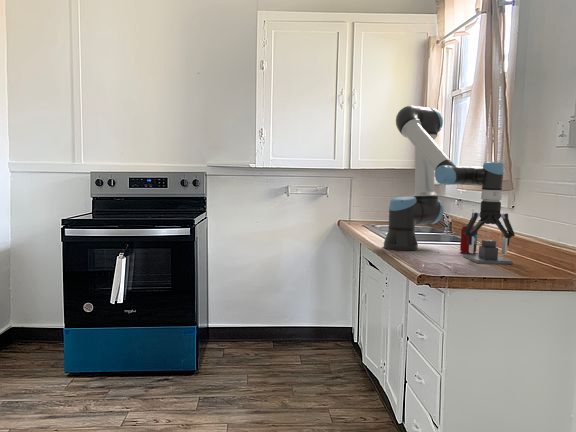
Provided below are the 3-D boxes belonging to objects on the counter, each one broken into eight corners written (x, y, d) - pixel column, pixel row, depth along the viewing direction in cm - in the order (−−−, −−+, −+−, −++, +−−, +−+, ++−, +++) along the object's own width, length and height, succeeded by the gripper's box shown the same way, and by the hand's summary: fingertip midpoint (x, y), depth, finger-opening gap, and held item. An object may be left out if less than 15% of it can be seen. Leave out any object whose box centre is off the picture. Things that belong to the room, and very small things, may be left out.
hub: (463, 257, 210) (463, 245, 209) (495, 257, 210) (496, 245, 210) (477, 263, 196) (478, 250, 195) (512, 264, 196) (513, 251, 196)
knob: (478, 256, 205) (479, 238, 204) (491, 256, 205) (492, 239, 205) (484, 258, 200) (485, 240, 199) (497, 259, 200) (498, 241, 199)
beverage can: (476, 254, 218) (478, 226, 217) (459, 253, 220) (461, 225, 219) (475, 252, 224) (477, 225, 223) (459, 250, 226) (461, 224, 225)
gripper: (464, 200, 196) (460, 254, 198) (526, 202, 198) (522, 255, 200) (456, 199, 204) (453, 251, 206) (516, 200, 205) (513, 252, 207)
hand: (487, 253), depth 203 cm, fingers open, 13 cm apart
